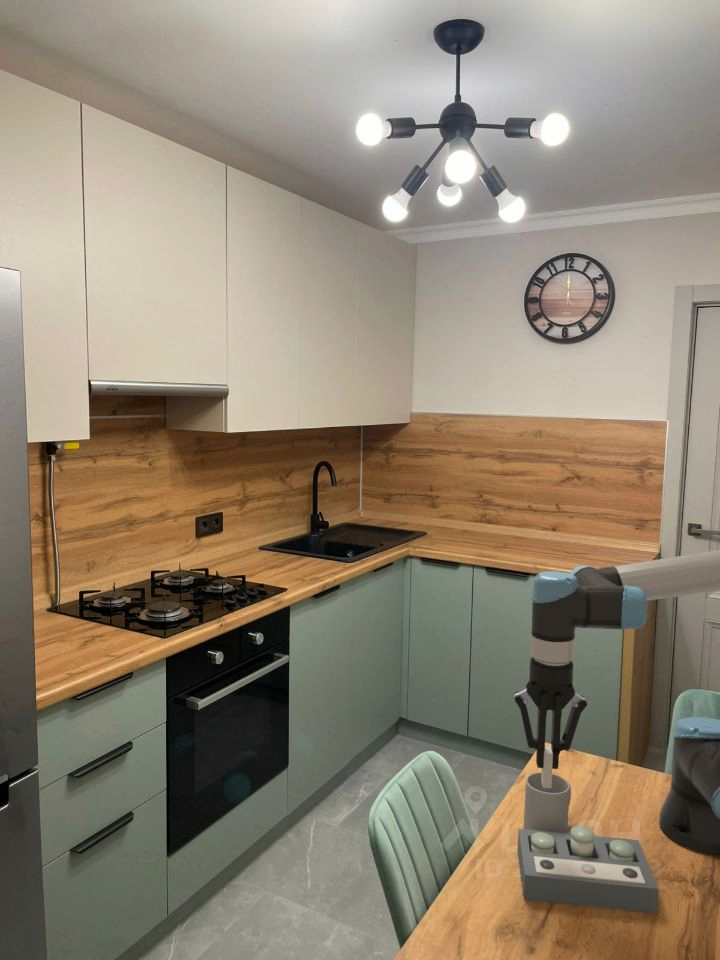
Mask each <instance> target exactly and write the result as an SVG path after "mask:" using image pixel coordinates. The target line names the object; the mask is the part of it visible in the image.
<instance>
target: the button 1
mask: <svg viewBox="0 0 720 960" xmlns="http://www.w3.org/2000/svg"><path fill="white" fill-rule="evenodd" d="M554 845H555V840H554V838H553V837H552V836H551V835H549V834H547V833H543V832H537V833H534V834H532V836H531V852H541V853H551V854H553V853H554Z"/></svg>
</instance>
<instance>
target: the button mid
mask: <svg viewBox="0 0 720 960" xmlns="http://www.w3.org/2000/svg"><path fill="white" fill-rule="evenodd" d="M570 834H571V846H570V854H571V856H581V857H590V858H593V847H594V840H595V836H596V835H595V831H594V830H592V829H591V828H590V827H587V826H582V825H574V826H573V827H572V828H570Z"/></svg>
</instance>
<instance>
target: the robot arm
mask: <svg viewBox="0 0 720 960" xmlns="http://www.w3.org/2000/svg"><path fill="white" fill-rule="evenodd" d="M716 591H720V549H719V550H713V551H706V552H699V553H693V554H687V555H686V554H685V555H678V556H673V557H668V558H667V557H666V558H660V559H654V560H653V559H652V560H648V561H640V562H635V563H634V562H633V563H628V564H621V565H615V566H607V567H600V568H595V567H593V566H588V565H580V566H577V567H574V569H572V570H571V571H570V572H563V571H557V570H556V571H554V570H553V571H552V570H551V571H550V570H549V571H548V570H547V571H543V572H542V571H541V572H540V573H538V574H536V576H535V577H534V580H533V589H532V596H531V600H532V607H531V609H532V610H531V634H530V635H531V637H530V656H531V657H530V659H529V679H528V682H527V683H526V686H525V689H523V690H522V691H514V693H513V697H514V701H515V704H516V705H517V706H518V708H519V709H520V716H521V719H522V723H523V728H524V733H525V738H526V742H527V747H528V748H529V749H535V750H536V753H535V754H536V755H535V756H536V759H535V762H536V766H537V768H538V769H541V773H542V776H541V781H542V786H543V788H551V786H552V774H553V769H554V770H558V769H559V762H560V761H559V760H560V759H559V758H560V753H561V752H562V751H569V750H571V746H572V742H573V739H574V738H575V733H576V730H577V728H578V727H577V726H578V723H579V720H580V718H581V713H583V711H584V710H585V709H586V707H587V706H588V703H587V700H586V697H585V696H583V695H579V694H578V693H577V692H576V690H575V687H574V685H573V682H574V681H573V676H574V663H573V660H574V658H575V657H574V656H575V638H576V637H575V635H576V634H575V632H576V629H577V628H578V629H601V630H604V629H606V630H609V629H610V630H622V631H625V630H637V629H641V628H643V627H644V625H645V624H646V621H647V619H648V601H655V600H660V599H661V600H662V599H670V598H675V597H681V596H682V597H683V596H687V595H694V594H695V595H697V594H703V593H708V592H716ZM529 697H530V698H531V700H532V702H533V703H534V705H535V706H536V707H537V726H536V738H534V735H533V731H532V730H533V729H532V725H531V720H530V715H529V711H528V707H527V704H528V702H529V699H528V698H529ZM570 701H571V705H572V706H571V708H570V711H569V714H568V717H567V721H566V724H565V728H564V731H563V734H562V736H561V729H562V728H561V725H562V724H561V722H562V710H563V709H564V708H565V707H567V705H568V704H569V703H570ZM548 711H552V714H551V736H550V737H551V739H550V740H551V741H550V746H546V730H547V729H546V728H547V716H548V714H547V713H548ZM672 737H673V747H672V748H673V749H672V750H673V751H672V763H671V765H672V767H671V768H672V769H671V780H670V781H671V782H670V783H671V784H670V789H669V792H668V793H667V796H666V798H665V799H664V801H663V804H662V806H661V808H660V812H659V821H658V825H659V828H660V829H661V831H662V832H663V834H664V836H666V837H668V838H669V839H670V840H672V841H673V842H675V843H676V844H678V845H680V846H682V847H684V848H686V849H688V850H692V851H694V852H695V851H696V852H699V853H701V854H708V855H717V856H718V855H720V719H716V718H712V717H711V718H710V717H702V716H701V717H700V716H689V717H683V718H681V719H678V721H677V722H676V723H675V727H674V733H673V736H672Z"/></svg>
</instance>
